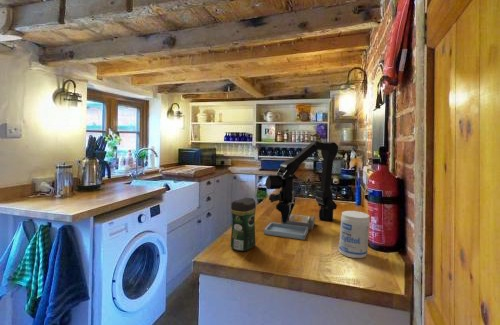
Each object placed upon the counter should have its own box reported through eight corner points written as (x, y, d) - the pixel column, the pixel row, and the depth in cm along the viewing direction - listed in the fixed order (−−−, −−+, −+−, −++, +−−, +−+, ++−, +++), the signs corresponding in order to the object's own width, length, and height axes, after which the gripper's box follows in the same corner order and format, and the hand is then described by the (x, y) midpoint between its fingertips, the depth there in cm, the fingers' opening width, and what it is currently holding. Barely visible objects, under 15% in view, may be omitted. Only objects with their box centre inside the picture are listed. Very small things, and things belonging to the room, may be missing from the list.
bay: (314, 224, 132) (314, 216, 131) (312, 229, 123) (312, 221, 123) (290, 221, 136) (291, 213, 135) (287, 226, 127) (287, 218, 127)
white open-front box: (309, 224, 131) (310, 216, 131) (308, 228, 125) (308, 219, 125) (283, 221, 135) (283, 213, 135) (280, 224, 130) (280, 216, 129)
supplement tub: (337, 256, 96) (340, 215, 95) (339, 246, 105) (341, 209, 103) (367, 261, 92) (370, 219, 91) (367, 250, 101) (369, 212, 100)
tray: (308, 231, 121) (308, 226, 121) (304, 240, 111) (304, 235, 110) (270, 226, 127) (270, 222, 127) (263, 234, 116) (264, 229, 116)
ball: (303, 221, 131) (301, 214, 131) (302, 223, 127) (299, 215, 128) (296, 223, 132) (294, 216, 132) (295, 225, 129) (292, 217, 129)
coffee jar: (240, 240, 108) (241, 195, 107) (258, 245, 104) (259, 197, 102) (226, 249, 100) (227, 199, 98) (244, 254, 96) (245, 202, 94)
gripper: (275, 184, 142) (274, 213, 143) (265, 190, 124) (264, 223, 126) (296, 185, 138) (295, 215, 140) (289, 192, 121) (288, 226, 122)
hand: (286, 220), depth 132 cm, fingers open, 8 cm apart
